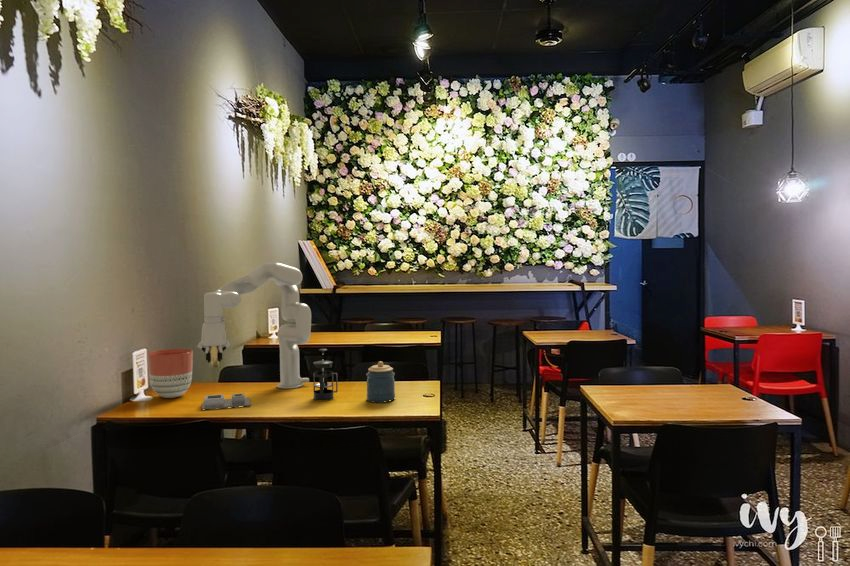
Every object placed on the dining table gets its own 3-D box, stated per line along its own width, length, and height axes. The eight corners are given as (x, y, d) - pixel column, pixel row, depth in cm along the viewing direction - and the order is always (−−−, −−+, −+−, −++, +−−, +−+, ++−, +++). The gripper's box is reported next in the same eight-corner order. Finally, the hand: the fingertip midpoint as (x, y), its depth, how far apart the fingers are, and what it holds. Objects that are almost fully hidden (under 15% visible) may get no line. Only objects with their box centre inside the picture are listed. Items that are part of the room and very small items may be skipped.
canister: (391, 403, 257) (390, 364, 256) (363, 402, 259) (362, 363, 259) (398, 396, 270) (397, 359, 269) (371, 395, 272) (370, 358, 271)
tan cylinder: (219, 365, 258) (218, 343, 258) (219, 366, 255) (218, 344, 254) (209, 365, 257) (209, 343, 257) (209, 367, 253) (208, 344, 253)
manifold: (249, 399, 267) (249, 390, 267) (250, 406, 254) (250, 397, 254) (203, 403, 261) (203, 394, 261) (201, 410, 248) (201, 401, 248)
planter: (162, 404, 260) (161, 356, 259) (141, 398, 272) (139, 352, 271) (202, 395, 275) (201, 350, 275) (180, 390, 287) (178, 347, 286)
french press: (309, 401, 263) (308, 350, 262) (314, 396, 273) (313, 347, 272) (335, 401, 263) (334, 350, 262) (339, 396, 272) (338, 347, 271)
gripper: (233, 318, 261) (234, 359, 262) (193, 320, 256) (194, 361, 257) (233, 320, 254) (234, 362, 255) (192, 321, 249) (193, 364, 250)
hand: (214, 361), depth 256 cm, fingers closed on tan cylinder, 4 cm apart
